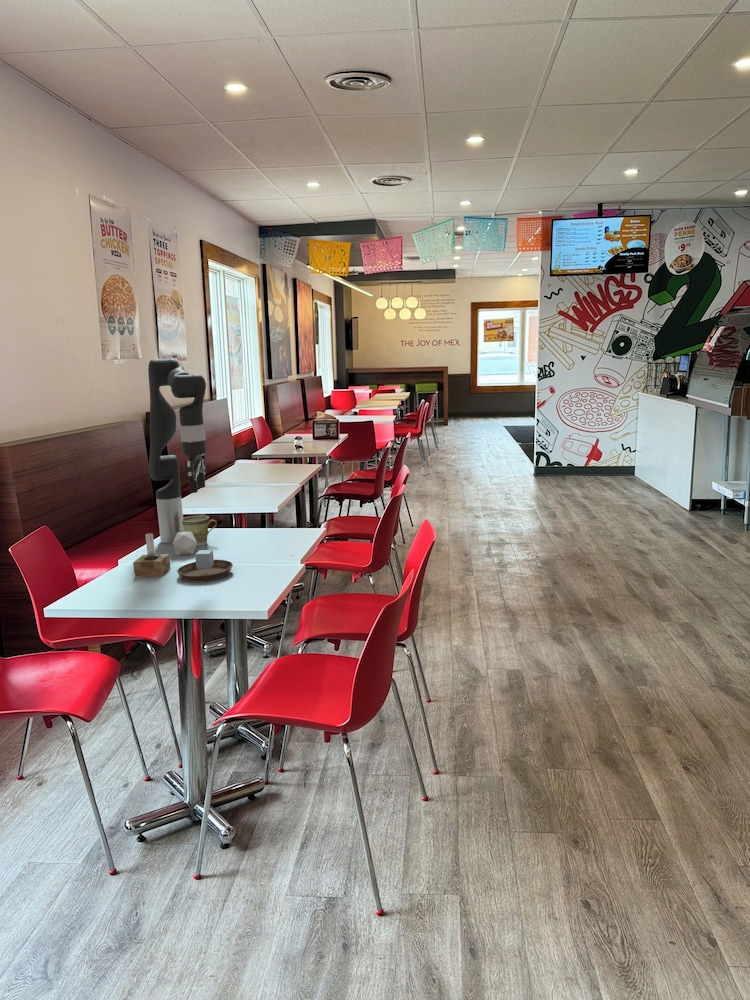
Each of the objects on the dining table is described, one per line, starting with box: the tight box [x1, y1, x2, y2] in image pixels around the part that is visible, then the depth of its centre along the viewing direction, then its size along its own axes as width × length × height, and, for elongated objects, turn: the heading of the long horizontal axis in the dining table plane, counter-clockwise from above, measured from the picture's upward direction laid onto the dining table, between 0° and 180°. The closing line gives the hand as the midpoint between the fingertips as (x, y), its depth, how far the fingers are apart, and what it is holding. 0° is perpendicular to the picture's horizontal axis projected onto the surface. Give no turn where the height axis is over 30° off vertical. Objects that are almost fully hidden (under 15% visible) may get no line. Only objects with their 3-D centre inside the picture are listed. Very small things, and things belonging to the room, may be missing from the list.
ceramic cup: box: [182, 515, 218, 547], centre depth 282 cm, size 13×10×10 cm
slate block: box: [194, 549, 215, 569], centre depth 242 cm, size 4×4×5 cm
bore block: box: [132, 553, 172, 578], centre depth 248 cm, size 9×9×5 cm
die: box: [172, 532, 197, 556], centre depth 270 cm, size 8×9×10 cm
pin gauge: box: [145, 532, 156, 560], centre depth 247 cm, size 2×2×12 cm
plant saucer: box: [176, 559, 233, 583], centre depth 243 cm, size 18×18×3 cm
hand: (198, 490), depth 237 cm, fingers open, 8 cm apart
